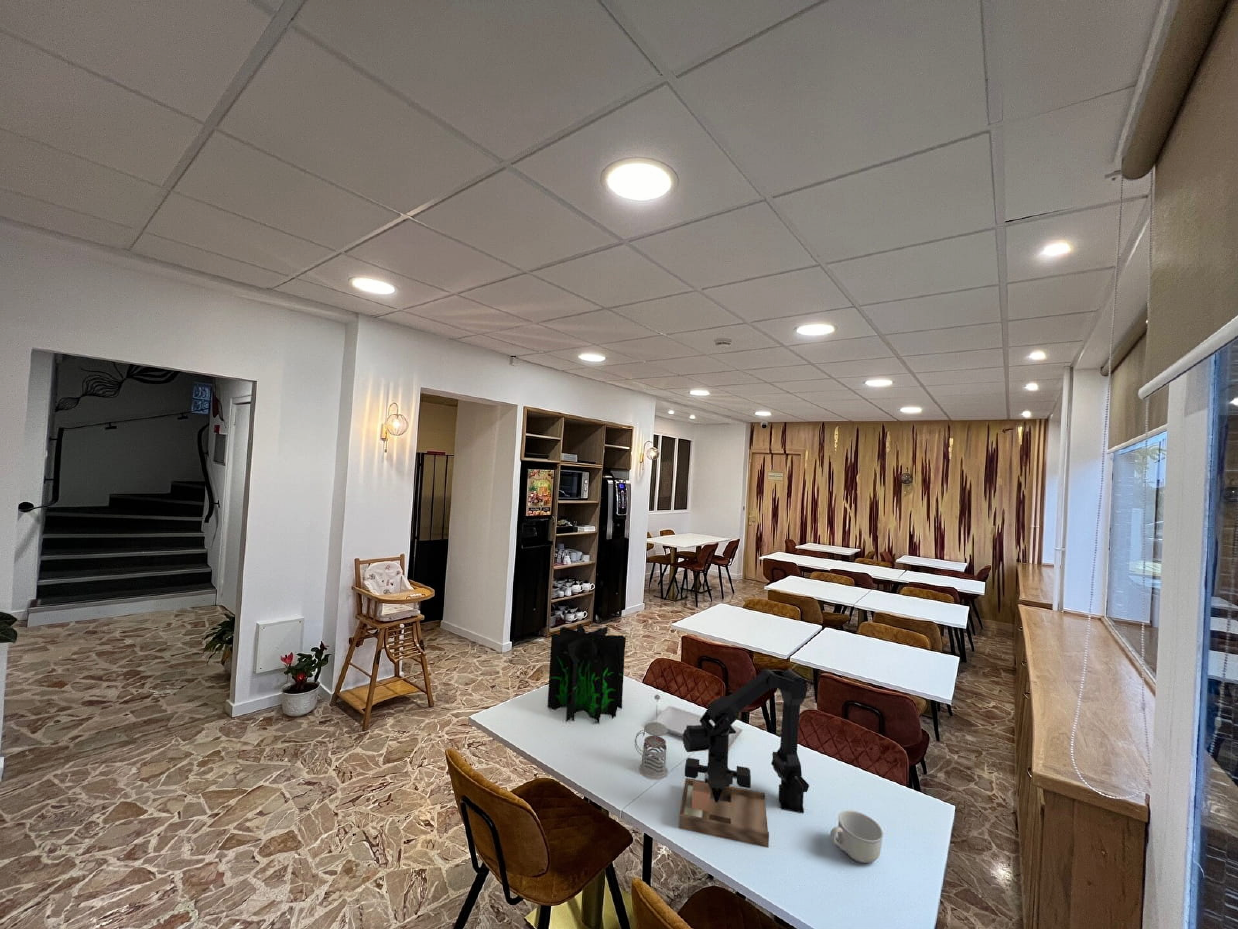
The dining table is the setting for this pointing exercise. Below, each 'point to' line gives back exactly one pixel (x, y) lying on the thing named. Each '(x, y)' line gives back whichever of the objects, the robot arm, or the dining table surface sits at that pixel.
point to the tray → (687, 722)
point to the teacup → (858, 836)
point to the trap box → (728, 815)
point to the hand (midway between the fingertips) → (716, 801)
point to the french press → (652, 764)
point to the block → (700, 796)
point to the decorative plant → (586, 672)
